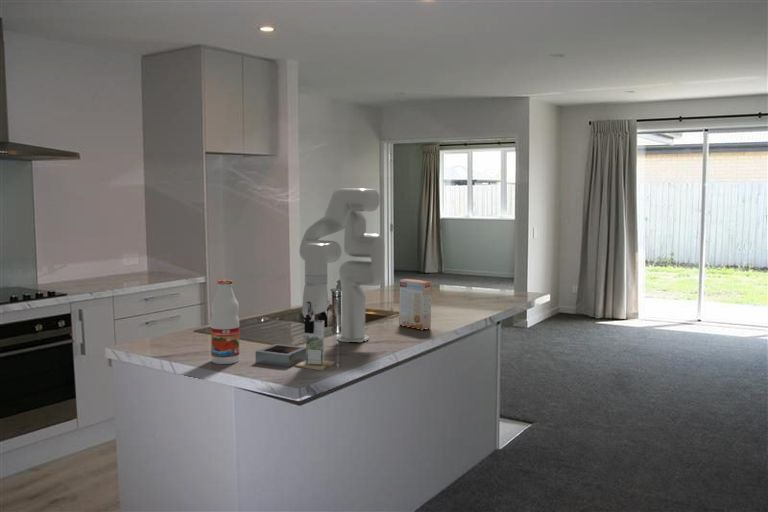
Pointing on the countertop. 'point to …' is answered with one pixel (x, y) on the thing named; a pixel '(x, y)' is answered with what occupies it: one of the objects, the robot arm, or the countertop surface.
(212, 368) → the countertop surface
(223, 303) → the fruit juice
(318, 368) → the cork coaster
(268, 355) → the frame
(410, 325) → the cracker box
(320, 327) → the syrup box
